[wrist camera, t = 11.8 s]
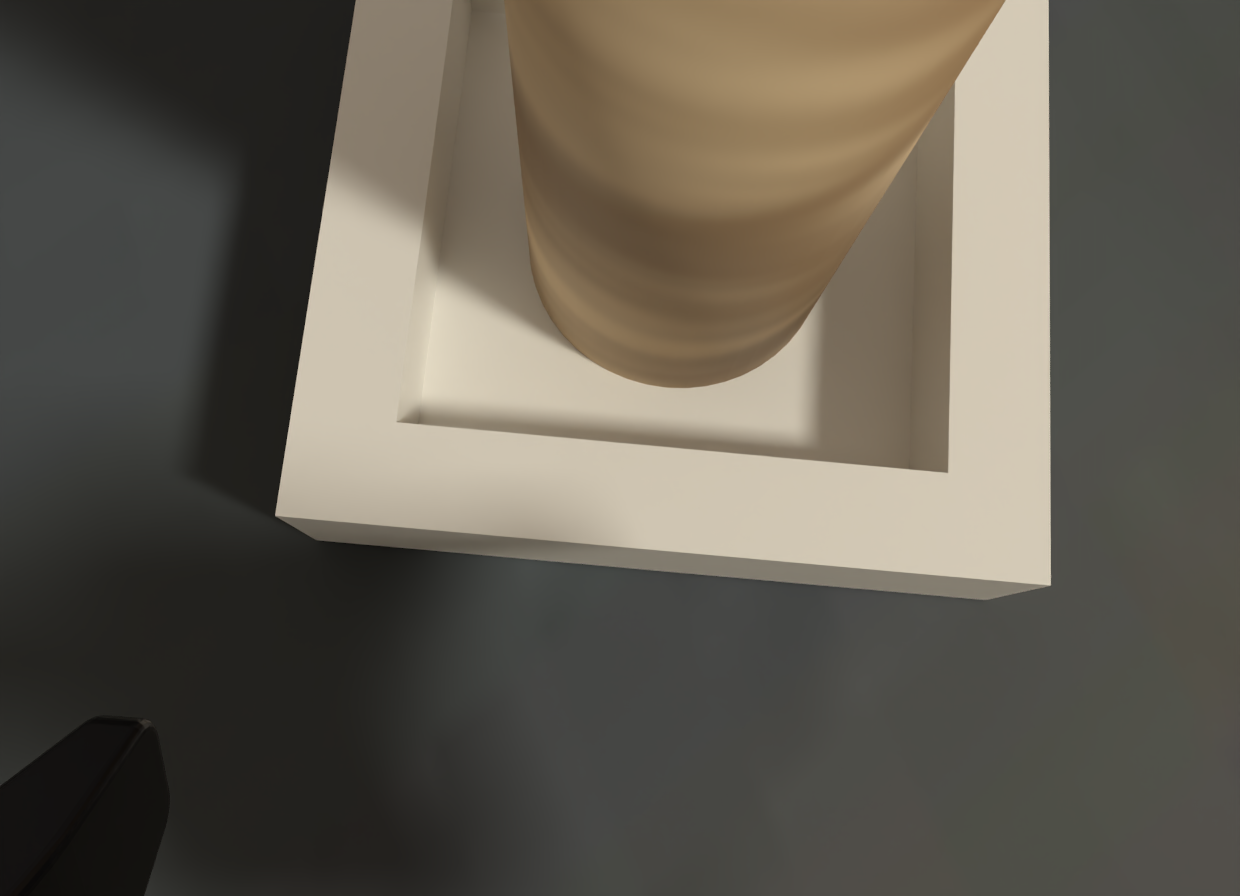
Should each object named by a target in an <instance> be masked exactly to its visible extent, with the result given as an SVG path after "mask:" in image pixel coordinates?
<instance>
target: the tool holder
mask: <svg viewBox="0 0 1240 896" xmlns="http://www.w3.org/2000/svg"><path fill="white" fill-rule="evenodd" d="M275 516H276V517H278V518H279V519H281V520H283V521H284V522H286V523H288V524H290V525H291V526H293V527H295V528H296V529H298V530H300V531H301V532H303V533H305V534H306V535H308V536H310V537H312V538H313V539H315V540H319V541H331V542H342V543H353V544H364V545H375V546H387V547H398V548H409V549H420V550H431V551H443V552H454V553H465V554H476V555H487V556H498V557H510V558H521V559H532V560H543V561H554V562H566V563H577V564H588V565H599V566H610V567H622V568H633V569H644V570H655V571H666V572H677V573H689V574H700V575H711V576H722V577H733V578H745V579H756V580H767V581H778V582H789V583H801V584H812V585H823V586H834V587H845V588H856V589H868V590H879V591H890V592H901V593H912V594H924V595H935V596H946V597H957V598H968V599H980V600H988V599H992V598H997V597H1001V596H1006V595H1010V594H1015V593H1019V592H1024V591H1028V590H1033V589H1037V588H1042V587H1046V586H1051V532H1050V267H1049V2H1048V0H1006V1H1005V2H1004V4H1003V5H1002V7H1001V9H1000V10H999V12H998V13H997V15H996V17H995V18H994V20H993V21H992V23H991V25H990V26H989V28H988V29H987V31H986V33H985V34H984V36H983V37H982V39H981V41H980V42H979V44H978V45H977V47H976V49H975V50H974V52H973V53H972V55H971V57H970V58H969V60H968V61H967V63H966V65H965V66H964V68H963V69H962V71H961V72H960V74H959V76H958V77H957V79H956V80H955V82H954V84H953V85H952V87H951V88H950V90H949V92H948V93H947V95H946V96H945V98H944V100H943V101H942V103H941V104H940V106H939V108H938V109H937V111H936V112H935V114H934V116H933V117H932V119H931V120H930V122H929V124H928V125H927V127H926V128H925V130H924V132H923V133H922V135H921V136H920V138H919V140H918V141H917V143H916V144H915V146H914V148H913V149H912V151H911V152H910V154H909V156H908V157H907V159H906V160H905V162H904V163H903V165H902V167H901V168H900V170H899V171H898V173H897V175H896V176H895V178H894V179H893V181H892V183H891V184H890V186H889V187H888V189H887V191H886V192H885V194H884V195H883V197H882V199H881V200H880V202H879V203H878V205H877V207H876V208H875V210H874V211H873V213H872V215H871V216H870V218H869V219H868V221H867V223H866V224H865V226H864V227H863V229H862V231H861V232H860V234H859V235H858V237H857V239H856V240H855V242H854V243H853V245H852V247H851V248H850V250H849V251H848V253H847V254H846V256H845V258H844V259H843V261H842V262H841V264H840V266H839V267H838V269H837V270H836V272H835V274H834V275H833V277H832V278H831V280H830V282H829V283H828V285H827V286H826V288H825V290H824V291H823V293H822V294H821V296H820V298H819V299H818V301H817V302H816V304H815V306H814V307H813V309H812V310H811V312H810V314H809V315H808V317H807V318H806V320H805V322H804V323H803V325H802V326H801V328H800V329H799V330H798V332H797V333H796V334H795V335H794V337H793V338H792V339H791V340H790V342H789V343H788V344H787V345H786V346H785V347H783V348H782V349H781V350H780V351H779V352H778V353H777V354H776V355H775V356H773V357H772V358H771V359H769V360H768V361H766V362H765V363H764V364H762V365H761V366H759V367H757V368H756V369H754V370H752V371H750V372H748V373H746V374H744V375H742V376H739V377H737V378H734V379H731V380H729V381H726V382H722V383H718V384H714V385H709V386H704V387H693V388H665V387H659V386H653V385H646V384H643V383H639V382H636V381H632V380H629V379H626V378H624V377H621V376H619V375H617V374H615V373H612V372H610V371H608V370H606V369H605V368H603V367H601V366H600V365H598V364H596V363H594V362H593V361H591V360H590V359H589V358H587V357H586V356H585V355H584V354H582V353H581V352H580V351H578V350H577V349H576V348H575V347H574V346H573V345H572V344H571V343H570V342H569V341H568V340H567V339H566V338H565V337H564V336H563V335H562V333H561V332H560V331H559V329H558V328H557V327H556V325H555V324H554V323H553V321H552V320H551V318H550V316H549V315H548V313H547V311H546V309H545V308H544V306H543V304H542V302H541V299H540V297H539V294H538V292H537V289H536V287H535V283H534V279H533V275H532V271H531V265H530V255H529V245H528V235H527V225H526V215H525V205H524V195H523V185H522V175H521V165H520V155H519V145H518V135H517V125H516V115H515V105H514V95H513V85H512V75H511V65H510V55H509V44H508V34H507V24H506V14H505V4H504V0H356V3H355V9H354V16H353V22H352V28H351V35H350V41H349V47H348V54H347V60H346V67H345V73H344V79H343V86H342V92H341V98H340V105H339V111H338V118H337V124H336V130H335V137H334V143H333V149H332V156H331V162H330V169H329V175H328V181H327V188H326V194H325V200H324V207H323V213H322V220H321V226H320V232H319V239H318V245H317V251H316V258H315V264H314V271H313V277H312V283H311V290H310V296H309V302H308V309H307V315H306V322H305V328H304V334H303V341H302V347H301V353H300V360H299V366H298V373H297V379H296V385H295V392H294V398H293V404H292V411H291V417H290V424H289V430H288V436H287V443H286V449H285V455H284V462H283V468H282V475H281V481H280V487H279V494H278V500H277V506H276V513H275Z"/></svg>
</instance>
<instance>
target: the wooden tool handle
mask: <svg viewBox="0 0 1240 896" xmlns="http://www.w3.org/2000/svg"><path fill="white" fill-rule="evenodd" d="M1005 1H1006V0H504V4H505V14H506V24H507V34H508V44H509V55H510V65H511V75H512V85H513V95H514V105H515V115H516V125H517V135H518V145H519V155H520V165H521V175H522V185H523V195H524V205H525V215H526V225H527V235H528V245H529V255H530V265H531V271H532V275H533V279H534V283H535V287H536V289H537V292H538V294H539V297H540V299H541V302H542V304H543V306H544V308H545V309H546V311H547V313H548V315H549V316H550V318H551V320H552V321H553V323H554V324H555V325H556V327H557V328H558V329H559V331H560V332H561V333H562V335H563V336H564V337H565V338H566V339H567V340H568V341H569V342H570V343H571V344H572V345H573V346H574V347H575V348H576V349H577V350H578V351H580V352H581V353H582V354H584V355H585V356H586V357H587V358H589V359H590V360H591V361H593V362H594V363H596V364H598V365H600V366H601V367H603V368H605V369H606V370H608V371H610V372H612V373H615V374H617V375H619V376H621V377H624V378H626V379H629V380H632V381H636V382H639V383H643V384H646V385H653V386H659V387H665V388H693V387H704V386H709V385H714V384H718V383H722V382H726V381H729V380H731V379H734V378H737V377H739V376H742V375H744V374H746V373H748V372H750V371H752V370H754V369H756V368H757V367H759V366H761V365H762V364H764V363H765V362H766V361H768V360H769V359H771V358H772V357H773V356H775V355H776V354H777V353H778V352H779V351H780V350H781V349H782V348H783V347H785V346H786V345H787V344H788V343H789V342H790V340H791V339H792V338H793V337H794V335H795V334H796V333H797V332H798V330H799V329H800V328H801V326H802V325H803V323H804V322H805V320H806V318H807V317H808V315H809V314H810V312H811V310H812V309H813V307H814V306H815V304H816V302H817V301H818V299H819V298H820V296H821V294H822V293H823V291H824V290H825V288H826V286H827V285H828V283H829V282H830V280H831V278H832V277H833V275H834V274H835V272H836V270H837V269H838V267H839V266H840V264H841V262H842V261H843V259H844V258H845V256H846V254H847V253H848V251H849V250H850V248H851V247H852V245H853V243H854V242H855V240H856V239H857V237H858V235H859V234H860V232H861V231H862V229H863V227H864V226H865V224H866V223H867V221H868V219H869V218H870V216H871V215H872V213H873V211H874V210H875V208H876V207H877V205H878V203H879V202H880V200H881V199H882V197H883V195H884V194H885V192H886V191H887V189H888V187H889V186H890V184H891V183H892V181H893V179H894V178H895V176H896V175H897V173H898V171H899V170H900V168H901V167H902V165H903V163H904V162H905V160H906V159H907V157H908V156H909V154H910V152H911V151H912V149H913V148H914V146H915V144H916V143H917V141H918V140H919V138H920V136H921V135H922V133H923V132H924V130H925V128H926V127H927V125H928V124H929V122H930V120H931V119H932V117H933V116H934V114H935V112H936V111H937V109H938V108H939V106H940V104H941V103H942V101H943V100H944V98H945V96H946V95H947V93H948V92H949V90H950V88H951V87H952V85H953V84H954V82H955V80H956V79H957V77H958V76H959V74H960V72H961V71H962V69H963V68H964V66H965V65H966V63H967V61H968V60H969V58H970V57H971V55H972V53H973V52H974V50H975V49H976V47H977V45H978V44H979V42H980V41H981V39H982V37H983V36H984V34H985V33H986V31H987V29H988V28H989V26H990V25H991V23H992V21H993V20H994V18H995V17H996V15H997V13H998V12H999V10H1000V9H1001V7H1002V5H1003V4H1004V2H1005Z"/></svg>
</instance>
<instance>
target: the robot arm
mask: <svg viewBox="0 0 1240 896" xmlns="http://www.w3.org/2000/svg"><path fill="white" fill-rule="evenodd" d="M169 804H170V796H169V788H168V783H167V778H166V773H165V768H164V763H163V758H162V753H161V748H160V742H159V737H158V733H157V730H156V727H155V726H154V725H153V723H152V722H150V721H149V720H146V719H144V718H132V717H119V716H97V717H94V718H92V719H90V720H87V721H86V722H84V723H83V724H82V725H80V726H79V727H78V728H76V729H75V730H74V731H72V732H71V733H70V734H68V735H67V736H66V737H64V738H63V739H62V740H60V741H59V742H58V743H56V744H55V745H54V746H53V747H51V748H50V749H49V750H47V751H46V752H45V753H43V754H42V755H41V756H39V757H38V758H37V759H35V760H34V761H33V762H31V763H30V764H29V765H27V766H26V767H25V768H24V769H22V770H21V771H20V772H18V773H17V774H16V775H14V776H13V777H12V778H10V779H9V780H8V781H6V782H5V783H4V784H2V785H1V786H0V896H144V894H145V891H146V888H147V884H148V881H149V878H150V875H151V872H152V868H153V865H154V862H155V859H156V856H157V852H158V849H159V846H160V843H161V840H162V836H163V833H164V830H165V827H166V823H167V818H168V813H169Z"/></svg>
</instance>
